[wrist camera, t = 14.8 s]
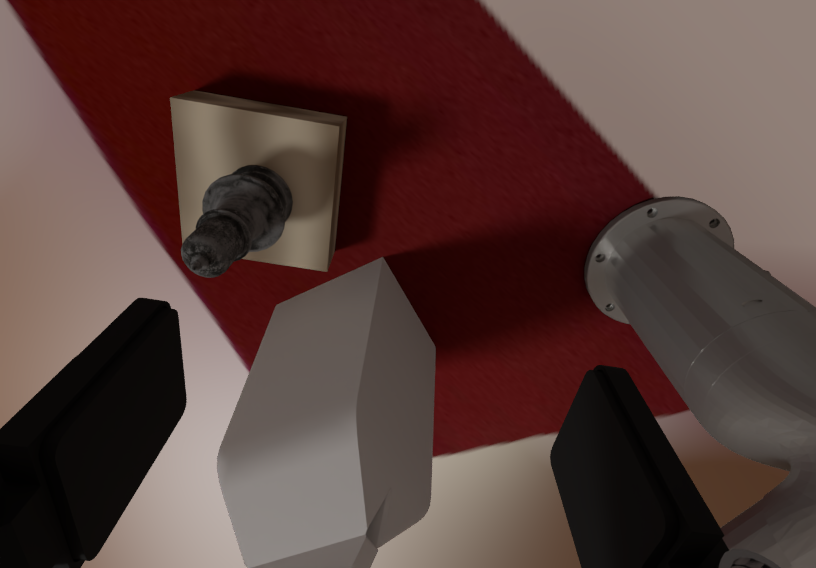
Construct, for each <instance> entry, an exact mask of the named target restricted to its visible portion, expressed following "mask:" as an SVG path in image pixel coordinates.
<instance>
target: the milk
mask: <svg viewBox="0 0 816 568" xmlns="http://www.w3.org/2000/svg"><path fill="white" fill-rule="evenodd" d="M435 357H436V347H435V345H434V343H433V341H432V340H431V338H430V336H429V335H428V333H427V331H426V329H425V328H424V326H423V324H422V323H421V321H420V319H419V318H418V316H417V314H416V312H415V311H414V309H413V307H412V306H411V304H410V302H409V300H408V299H407V297H406V295H405V294H404V292H403V290H402V289H401V287H400V285H399V283H398V282H397V280H396V278H395V277H394V275H393V273H392V271H391V270H390V268H389V266H388V265H387V263H386V261H385V260H384V258H383V257H382V258H380V259H377V260H375V261H373V262H371V263H368V264H366V265H364V266H362V267H360V268H357V269H355V270H353V271H351V272H349V273H346V274H344V275H342V276H340V277H337V278H335V279H333V280H331V281H329V282H326V283H324V284H322V285H320V286H317V287H315V288H313V289H311V290H309V291H306V292H304V293H302V294H300V295H298V296H295V297H293V298H291V299H289V300H286V301H284V302H282V303H280V304H278V305H276V307H275V310H274V312H273V315H272V317H271V320H270V322H269V325H268V327H267V330H266V332H265V335H264V337H263V340H262V342H261V345H260V347H259V350H258V353H257V355H256V358H255V360H254V363H253V365H252V368H251V370H250V373H249V375H248V378H247V380H246V383H245V385H244V388H243V391H242V393H241V396H240V398H239V401H238V403H237V406H236V408H235V411H234V413H233V416H232V418H231V421H230V424H229V426H228V429H227V431H226V434H225V436H224V439H223V441H222V444H221V446H220V449H219V453H218V458H217V471H218V478H219V483H220V486H221V490H222V493H223V497H224V500H225V503H226V506H227V509H228V513H229V516H230V519H231V522H232V525H233V528H234V532H235V535H236V538H237V541H238V545H239V548H240V551H241V554H242V557H243V560H244V564H245V565H246V566H247V568H370V567H371V565H372V563H373V560H374V558H375V556H376V554H377V552H378V549H377V548H378V547H380V546H382V545H383V544H385V543H387V542H388V541H390V540H391V539H393V538H394V537H395V536H397V535H399V534H400V533H402V532H403V531H405V530H406V529H408V528H409V527H411V526H412V525H414V524H415V523H417V522H418V521H419V520H421V519H422V518H423V517H424V516H425V514H426V513H427V511H428V509H429V506H430V500H431V477H432V449H433V418H434V388H435Z"/></svg>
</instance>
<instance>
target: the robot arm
mask: <svg viewBox="0 0 816 568" xmlns="http://www.w3.org/2000/svg"><path fill="white" fill-rule="evenodd" d="M649 209H650V210H649ZM648 210H649V211H648ZM598 254H599V255H598ZM597 255H598V256H597ZM584 279H585V284H586V288H587V291H588V293H589V295H590V297H591V298H592V300H593V301H594V303H595V304H596V306H597V307H598V308H599V309H600V310H601V311H602V312H603V313H604V314H606V315H607V316H609V317H611V318H612V319H614V320H617V321H620V322H623V323H626V324H631V326H632V327H633V329H634V330H635V331H636V333H637V334H638V336H639V337H640V339H641V340H642V341H643V343H644V344H645V346H646V347H647V349H648V350H649V351H650V353H651V354H652V356H653V357H654V359H655V360H656V361H657V363H658V364H659V366H660V367H661V369H662V370H663V371H664V373H665V374H666V376H667V377H668V379H669V380H670V381H671V383H672V384H673V386H674V387H675V389H676V390H677V391H678V393H679V394H680V396H681V397H682V399H683V400H684V401H685V403H686V404H687V406H688V407H689V409H690V410H691V412H692V413H693V414H694V416H695V417H696V418H697V420H698V421H699V423H700V424H701V425H702V426H703V427H704V429H705V430H706V431H707V432H708V433H709V434H710V435H711V436H712V437H714V439H716V440H717V441H718V442H719V443H721V444H722V445H724V446H725V447H727V448H728V449H730V450H731V451H733V452H735V453H737V454H739V455H742V456H744V457H746V458H748V459H751V460H753V461H756V462H759V463H762V464H765V465H769V466H772V467H776V468H780V469H783V470H787V471H790V473H789V475H788V476H787V477H786V478H785V480H784V481H783V482H781V483H780V484H779V485H778V486H776V487H775V488H774V489H773V490H771V491H770V492H769V493H767V494H766V495H765V496H764V497H763V499H761V500H760V501H758V502H757V503H755V504H754V505H753V506H751V507H750V508H748V509H747V510H745V511H744V512H743V513H741V514H740V515H738V516H737V517H735V518H734V519H733V520H731V521H730V522H728V523H727V524H725V525H724V526H722V527H721V528H720V527H719V525H718V524H717V522H716V520H715V519H714V517H713V515H712V513H711V512H710V510H709V508H708V507H707V505H706V503H705V502H704V500H703V498H702V497H701V495H700V493H699V492H698V490H697V488H696V487H695V485H694V483H693V481H692V480H691V478H690V477H689V475H688V473H687V471H686V470H685V468H684V466H683V465H682V463H681V461H680V460H679V458H678V456H677V455H676V453H675V451H674V449H673V448H672V446H671V444H670V443H669V441H668V440H667V438H666V436H665V434H664V433H663V431H662V429H661V428H660V426H659V424H658V423H657V421H656V419H655V418H654V416H653V414H652V412H651V411H650V409H649V407H648V406H647V404H646V402H645V401H644V399H643V397H642V396H641V394H640V392H639V391H638V389H637V387H636V386H635V384H634V382H633V380H632V379H631V377H630V375H629V374H628V372H627V371H626V370H625V369H623V368H617V367H610V366H603V365H598V366H596V367H595V368H594V370H589V371H587V373H586V374H585V376H584V379H583V381H582V383H581V385H580V387H579V390H578V392H577V394H576V396H575V398H574V401H573V403H572V405H571V407H570V409H569V412H568V414H567V416H566V418H565V420H564V423H563V425H562V427H561V429H560V431H559V434H558V436H557V438H556V440H555V442H554V445H553V447H552V450H551V456H550V459H551V466H552V469H553V472H554V476H555V480H556V483H557V486H558V489H559V493H560V496H561V500H562V503H563V507H564V510H565V513H566V517H567V520H568V523H569V527H570V530H571V533H572V537H573V540H574V544H575V547H576V551H577V554H578V557H579V561H580V564H581V567H582V568H816V307H814V306H813V305H811V304H810V303H809V302H807V301H806V300H805V299H803V298H802V297H800V296H799V295H798V294H796V293H795V292H793V291H792V290H791V289H789V288H788V287H786V286H785V285H784V284H782V283H781V282H779V281H778V280H777V279H775V278H774V277H772V276H771V274H770V273H769V272H768V271H765V270H762V269H761V268H760V267H759V266H757V265H756V264H754V263H753V262H752V261H750V260H749V259H747V258H746V257H745V256H743V255H742V254H740V253H739V252H738V251H736V250H735V249H734V239H733V235H732V232H731V228H730V227H729V225H728V224H727V222H726V220H725V219H724V218H723V217H722V216H721V215H720V214H719V213H718V212H717V211H716V210H714V209H713V208H711V207H710V206H708V205H706V204H704V203H702V202H700V201H697V200H694V199H691V198H685V197H662V198H657V199H651V200H648V201H645V202H643V203H640V204H637V205H635V206H633V207H631V208H629V209H628V210H626V211H624V212H622V213H621V214H620V215H618V216H617V217H616V218H614V219H613V220H612V221H610V222H609V224H608V225H607V226H606V227H605V228H604V229H603V230H602V231H601V232H600V233H599V235H598V236H597V238H596V239H595V241H594V242H593V244H592V246H591V248H590V250H589V253H588V255H587V259H586V263H585V269H584ZM185 407H186V389H185V379H184V369H183V359H182V348H181V338H180V328H179V319H178V312H177V311H176V310H175V309H171V307H170V304H169V303H168V302H166V301H160V300H153V299H147V298H138V299H136V300H135V301H134V302H133V303H132V304H131V305H130V306H129V307H128V308H127V309H126V310H125V311H123V312H122V313H121V314H120V315H119V316H118V317H117V318H116V319H115V320H114V321H113V322H112V323H111V324H110V325H109V326H108V327H107V328H106V329H105V330H104V331H103V332H102V333H101V334H100V335H99V336H98V337H97V338H95V339H94V340H93V341H92V342H91V343H90V344H89V345H88V346H87V347H86V348H85V349H84V350H83V351H82V352H81V353H80V354H79V355H78V356H76V357H75V358H74V359H72V361H71V362H69V363H68V364H67V365H66V366H65V367H64V368H63V369H62V370H61V371H60V372H59V373H58V374H57V375H56V376H55V377H54V378H53V379H52V380H51V381H50V382H49V383H48V384H47V385H46V386H44V387H43V388H42V389H41V390H40V391H39V392H38V393H37V394H36V395H35V396H34V397H33V398H32V399H31V400H30V401H29V402H28V403H27V404H26V405H25V406H24V407H23V408H22V409H21V410H19V412H17V413H16V414H15V415H14V416H13V417H12V418H11V419H10V420H9V421H8V422H7V423H6V424H5V425H4V426H3V427H2V428H1V429H0V568H81V566H82V564H83V563H84V561H85V560H87V561H90V560H92V559H94V558H95V557H96V556H97V554H98V553H99V551H100V550H101V548H102V546H103V545H104V543H105V542H106V540H107V538H108V537H109V535H110V533H111V532H112V530H113V528H114V527H115V525H116V524H117V522H118V520H119V518H120V517H121V515H122V514H123V512H124V510H125V509H126V507H127V506H128V504H129V502H130V501H131V499H132V497H133V496H134V494H135V492H136V491H137V489H138V487H139V486H140V484H141V483H142V481H143V479H144V478H145V476H146V474H147V472H148V471H149V469H150V467H151V466H152V464H153V463H154V461H155V459H156V458H157V456H158V455H159V453H160V451H161V450H162V448H163V446H164V445H165V443H166V442H167V440H168V438H169V437H170V435H171V433H172V432H173V430H174V428H175V427H176V425H177V423H178V422H179V420H180V419H181V417H182V415H183V413H184V410H185Z"/></svg>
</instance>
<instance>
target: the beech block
mask: <svg viewBox="0 0 816 568" xmlns="http://www.w3.org/2000/svg"><path fill="white" fill-rule="evenodd" d="M170 102H171V114H172V125H173V137H174V149H175V160H176V172H177V184H178V195H179V207H180V219H181V230H182V242H184V241H185V239H186V238H187V237H188V236H189V235H190V234H191V233H192V232H193V231H195V230H196V224H197V221H198V219H199V218H200V217H201V215H203V211H202V201H203V198H204V195H205V191H206V190H207V189H208V187H209V186H210V185H211V183H213V182H214V181H216V180H217V179H219V178H220V177H223V176H226V175H229V174H232V173H233V172H234V171H236V170H237V169H239V168H241V167H244V166H247V165H259V166H263V167H267V168H269V169H271V170H273V171H275V172H276V173H277V174H278V175H279V176H281V177H282V178H283V180H284V181H285V182H286V183H287V185H288V187H289V189H290V191H291V194H292V200H293V205H292V211H291V214H290V216H289V218H288V219H287V220H286V221H285V227H284V230H283V233H282V235H281V237H280V238H279V239H278V241H277V242H276V243H275V244H274V245H272V246H271V247H269V248H267V249H265V250H262V251H258V252H248V254H247V255H246V256H245V257H243V258H242V259H247V260H254V261H260V262H267V263H273V264H280V265H286V266H293V267H300V268H306V269H313V270H319V271H326V272H327V270H328V268H329V265H330V263H331V260H332V257H333V255H334V252H335V243H336V232H337V221H338V210H339V200H340V189H341V178H342V167H343V156H344V146H345V135H346V124H347V117H345V116H340V115H334V114H328V113H322V112H317V111H311V110H305V109H299V108H293V107H288V106H282V105H276V104H270V103H265V102H259V101H253V100H247V99H241V98H236V97H230V96H224V95H218V94H213V93H207V92H201V91H195V90H194V91H190V92H187V93H184V94H180V95H177V96H173V97H170Z"/></svg>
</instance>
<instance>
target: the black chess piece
mask: <svg viewBox="0 0 816 568" xmlns="http://www.w3.org/2000/svg"><path fill="white" fill-rule="evenodd" d="M292 205H293V200H292V194H291V191H290V189H289V187H288V185H287V183H286V182H285V181H284V180H283V178H282V177H281V176H279V175H278V174H277V173H276V172H275V171H273V170H271V169H269V168H267V167H263V166H259V165H247V166H244V167H241V168H239V169H237V170H236V171H234V172H233V173H232V174H229V175H226V176H223V177H220V178H219V179H217V180H216V181H214V182H213V183H211V185H210V186H209V187H208V189H207V190H206V191H205V195H204V198H203V201H202V211H203V215H201V217H200V218H199V219H198V221H197V224H196V230H195V231H193V232H192V233H191V234H190V235H189V236H188V237H187V238H186V239H185V241H184V242H183V245H182V248H181V255H182V258H183V261H184V262H185V264H186V266H187V267H188V268H189V269H190V270H191V271H192V272H194V273H195V274H198V275H200V276H203V277H216V276H219V275H221V274H222V273H224V272H226V270H227V269H228V268H229V267H230V265H231V264H232V263H233V262H234V261H237V260H240V259H242V258H243V257H245V256H246V255H247V254H248V252H258V251H262V250H265V249H267V248H269V247H271V246H272V245H274V244H275V243H276V242H277V241H278V239H279V238H280V237H281V235H282V233H283V230H284V227H285V221H286V220H287V219H288V218H289V216H290V214H291V211H292Z"/></svg>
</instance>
